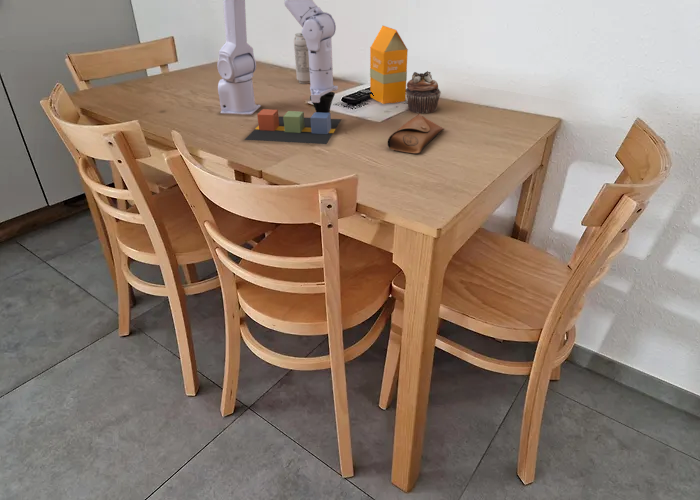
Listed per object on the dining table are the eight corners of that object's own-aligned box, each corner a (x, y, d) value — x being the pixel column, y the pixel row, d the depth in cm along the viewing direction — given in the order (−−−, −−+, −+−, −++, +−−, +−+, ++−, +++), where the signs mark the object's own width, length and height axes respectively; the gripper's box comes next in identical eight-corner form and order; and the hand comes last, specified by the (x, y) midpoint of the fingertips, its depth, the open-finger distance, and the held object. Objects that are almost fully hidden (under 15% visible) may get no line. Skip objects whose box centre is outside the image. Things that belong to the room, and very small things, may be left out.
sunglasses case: (421, 153, 112) (408, 126, 110) (396, 163, 116) (383, 138, 115) (446, 128, 125) (434, 104, 123) (422, 138, 130) (411, 115, 128)
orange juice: (382, 104, 144) (383, 31, 133) (369, 97, 151) (369, 26, 139) (406, 101, 146) (409, 28, 135) (392, 93, 153) (394, 23, 142)
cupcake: (411, 115, 135) (413, 78, 130) (401, 105, 143) (402, 69, 138) (444, 112, 137) (447, 75, 131) (432, 102, 145) (435, 67, 139)
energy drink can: (316, 79, 168) (314, 32, 160) (311, 84, 163) (308, 36, 155) (300, 78, 170) (296, 32, 161) (294, 83, 165) (290, 35, 156)
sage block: (284, 132, 126) (283, 116, 124) (289, 126, 129) (287, 110, 127) (300, 133, 125) (299, 116, 123) (304, 127, 129) (303, 111, 126)
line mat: (244, 140, 122) (244, 139, 122) (268, 117, 137) (267, 115, 137) (326, 145, 119) (326, 144, 119) (341, 120, 133) (341, 119, 133)
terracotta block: (259, 130, 128) (257, 114, 125) (264, 124, 131) (262, 109, 129) (274, 130, 127) (272, 115, 125) (279, 125, 130) (277, 109, 128)
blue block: (311, 133, 125) (310, 117, 122) (315, 127, 128) (314, 112, 126) (327, 134, 124) (326, 118, 122) (331, 128, 127) (330, 112, 125)
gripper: (330, 76, 114) (332, 132, 122) (342, 61, 126) (344, 113, 134) (301, 75, 115) (305, 131, 123) (316, 60, 127) (319, 112, 135)
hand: (323, 122), depth 128 cm, fingers closed
